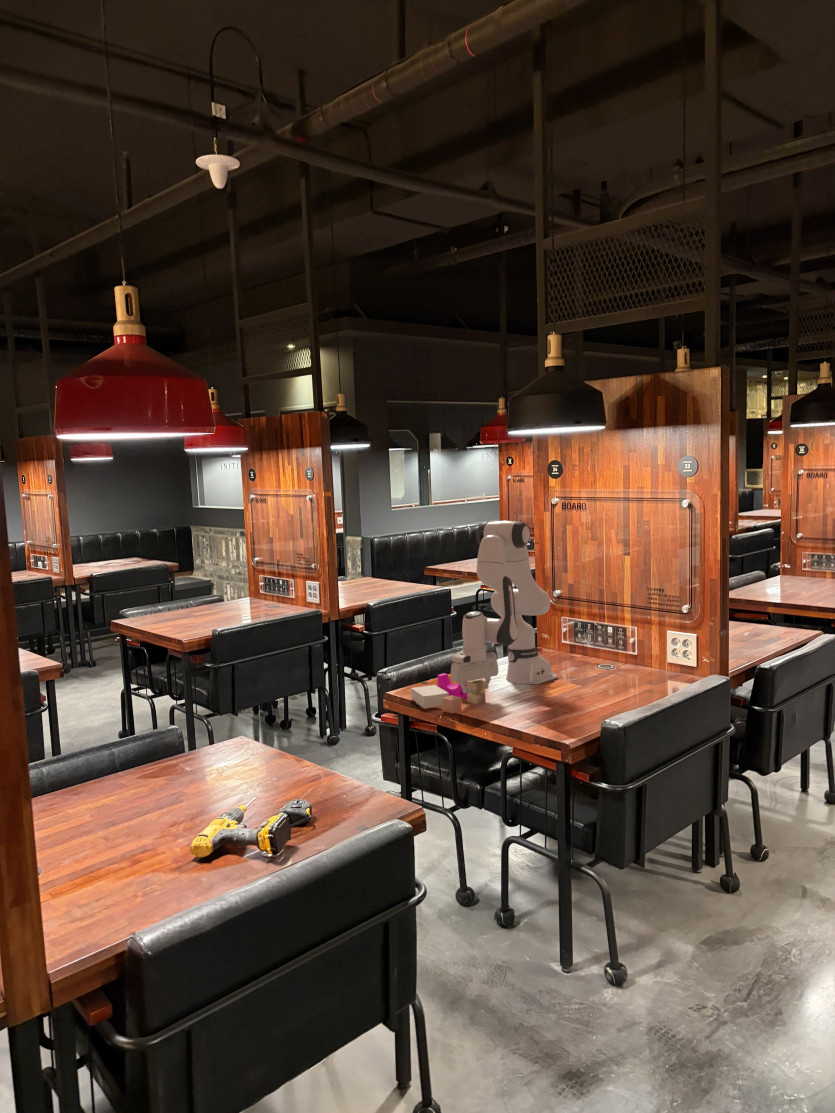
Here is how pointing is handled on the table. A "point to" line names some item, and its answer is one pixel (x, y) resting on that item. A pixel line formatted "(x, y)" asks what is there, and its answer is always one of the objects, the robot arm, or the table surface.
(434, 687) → the base block
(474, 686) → the maple block
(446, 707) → the terracotta cube
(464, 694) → the toy block
